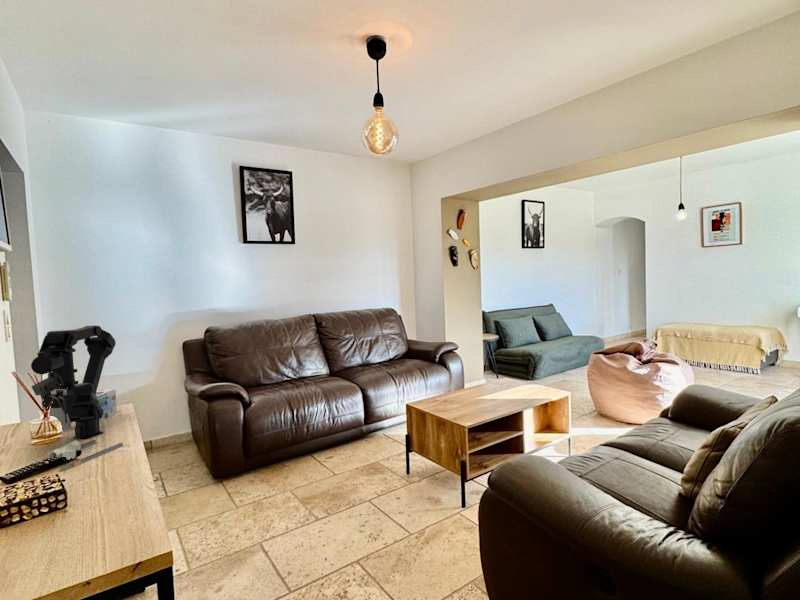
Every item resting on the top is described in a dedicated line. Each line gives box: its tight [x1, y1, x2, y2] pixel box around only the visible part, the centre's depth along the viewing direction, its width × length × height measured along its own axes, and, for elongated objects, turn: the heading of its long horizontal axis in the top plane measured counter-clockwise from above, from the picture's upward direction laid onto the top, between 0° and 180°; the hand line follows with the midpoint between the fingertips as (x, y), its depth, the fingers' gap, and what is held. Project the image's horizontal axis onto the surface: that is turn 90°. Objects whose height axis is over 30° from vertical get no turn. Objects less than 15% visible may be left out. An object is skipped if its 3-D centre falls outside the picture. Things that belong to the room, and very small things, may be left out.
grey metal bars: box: [31, 439, 124, 472], centre depth 131 cm, size 19×14×2 cm
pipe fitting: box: [47, 439, 82, 461], centre depth 130 cm, size 8×4×7 cm
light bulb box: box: [96, 388, 118, 422], centre depth 170 cm, size 11×7×11 cm, turn 1°
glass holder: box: [41, 392, 73, 434], centre depth 155 cm, size 9×14×15 cm, turn 108°
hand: (66, 413), depth 138 cm, fingers closed
